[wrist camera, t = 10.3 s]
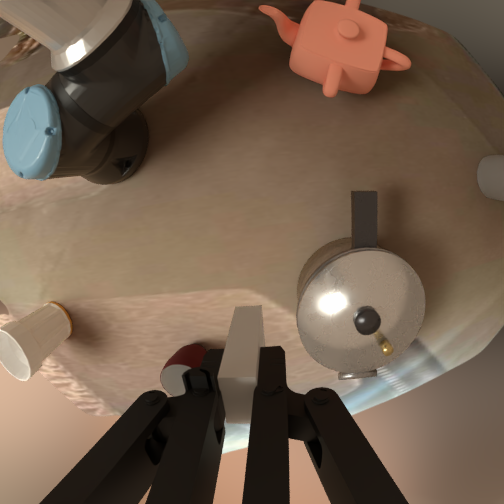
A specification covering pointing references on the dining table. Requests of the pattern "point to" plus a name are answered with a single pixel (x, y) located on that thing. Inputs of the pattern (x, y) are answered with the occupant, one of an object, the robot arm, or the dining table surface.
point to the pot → (346, 239)
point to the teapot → (338, 46)
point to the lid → (361, 312)
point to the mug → (180, 368)
